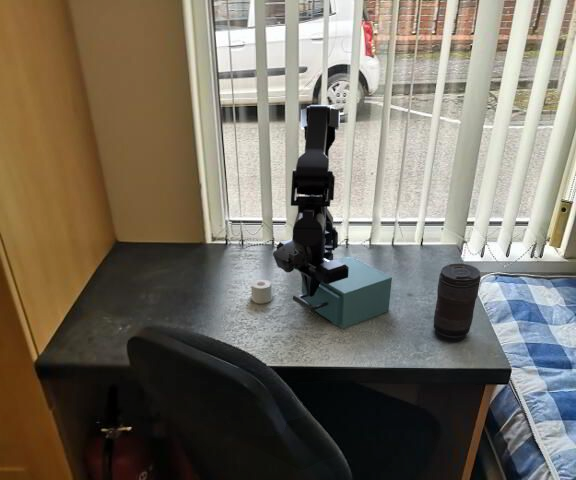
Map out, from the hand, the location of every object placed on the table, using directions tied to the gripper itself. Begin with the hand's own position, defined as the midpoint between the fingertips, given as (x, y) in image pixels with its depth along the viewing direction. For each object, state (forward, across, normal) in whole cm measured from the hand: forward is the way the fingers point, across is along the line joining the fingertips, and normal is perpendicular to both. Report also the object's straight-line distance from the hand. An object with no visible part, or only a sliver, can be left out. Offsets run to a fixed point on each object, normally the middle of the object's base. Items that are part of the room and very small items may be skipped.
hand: (310, 295), depth 126 cm
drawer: (+5, 0, +6) cm, 8 cm away
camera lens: (+6, +23, +21) cm, 31 cm away
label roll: (+6, -15, -4) cm, 17 cm away
